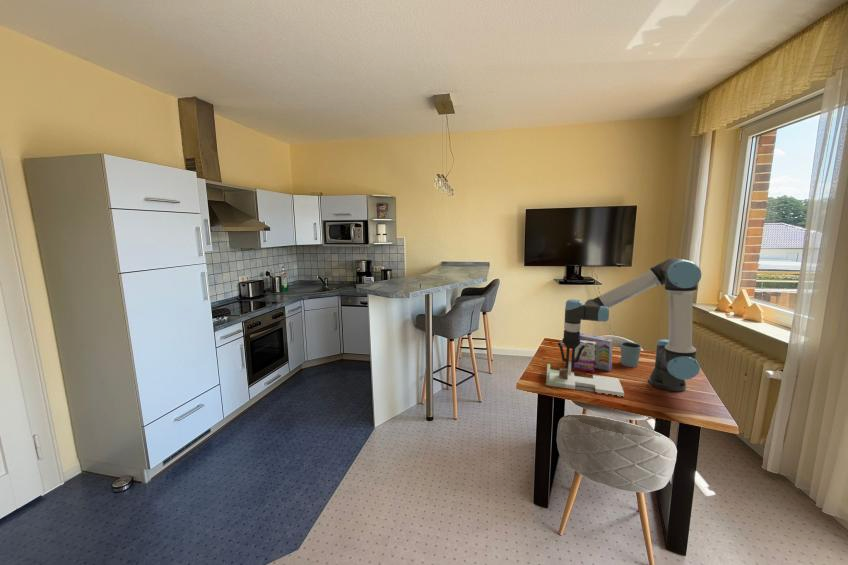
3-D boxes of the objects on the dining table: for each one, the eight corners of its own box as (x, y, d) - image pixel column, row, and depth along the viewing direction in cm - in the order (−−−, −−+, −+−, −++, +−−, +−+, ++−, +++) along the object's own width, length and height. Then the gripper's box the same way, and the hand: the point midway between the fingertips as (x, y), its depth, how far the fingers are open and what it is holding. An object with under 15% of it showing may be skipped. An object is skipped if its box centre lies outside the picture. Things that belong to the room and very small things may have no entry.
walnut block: (567, 376, 178) (567, 369, 177) (567, 379, 174) (568, 372, 173) (559, 375, 179) (559, 367, 178) (559, 378, 175) (559, 370, 175)
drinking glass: (643, 367, 193) (645, 347, 191) (624, 367, 193) (626, 347, 191) (632, 361, 203) (634, 341, 201) (615, 360, 203) (617, 341, 201)
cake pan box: (573, 362, 201) (575, 333, 198) (577, 360, 205) (579, 331, 202) (608, 372, 187) (610, 341, 184) (611, 369, 190) (614, 339, 188)
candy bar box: (594, 369, 191) (596, 341, 188) (594, 372, 186) (596, 344, 184) (573, 365, 196) (575, 338, 193) (572, 369, 192) (574, 341, 189)
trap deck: (618, 382, 175) (619, 373, 174) (623, 396, 160) (624, 386, 159) (547, 372, 187) (547, 363, 186) (546, 385, 172) (546, 375, 171)
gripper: (558, 331, 170) (555, 375, 174) (586, 333, 166) (583, 379, 169) (558, 327, 177) (555, 369, 181) (585, 329, 173) (582, 373, 176)
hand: (569, 374), depth 175 cm, fingers closed
